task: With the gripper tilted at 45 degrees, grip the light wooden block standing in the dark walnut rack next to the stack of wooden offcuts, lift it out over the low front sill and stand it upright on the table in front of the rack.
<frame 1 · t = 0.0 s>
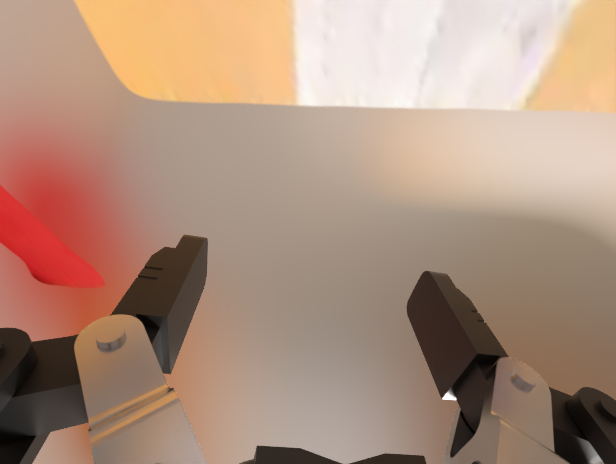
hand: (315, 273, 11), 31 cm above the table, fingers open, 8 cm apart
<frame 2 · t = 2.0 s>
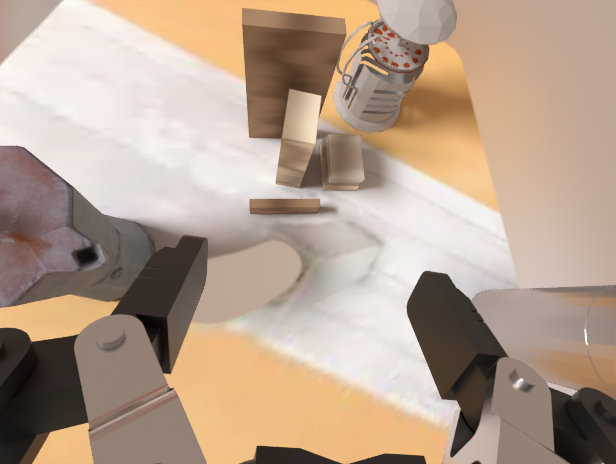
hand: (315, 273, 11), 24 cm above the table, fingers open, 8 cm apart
offcut stack: (337, 168, 39), on the table
french press: (361, 103, 42), on the table
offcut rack: (282, 167, 37), on the table
moka pot: (109, 260, 32), on the table
light wooden block: (290, 167, 38), on the table
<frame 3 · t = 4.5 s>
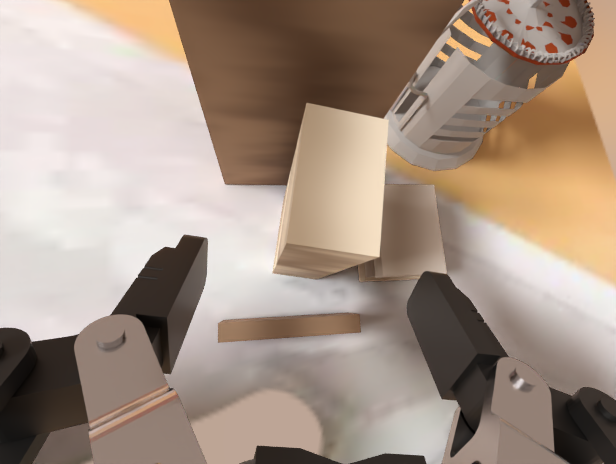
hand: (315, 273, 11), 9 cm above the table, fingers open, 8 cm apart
offcut stack: (385, 238, 22), on the table
french press: (419, 119, 25), on the table
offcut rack: (285, 240, 20), on the table
light wooden block: (299, 240, 21), on the table
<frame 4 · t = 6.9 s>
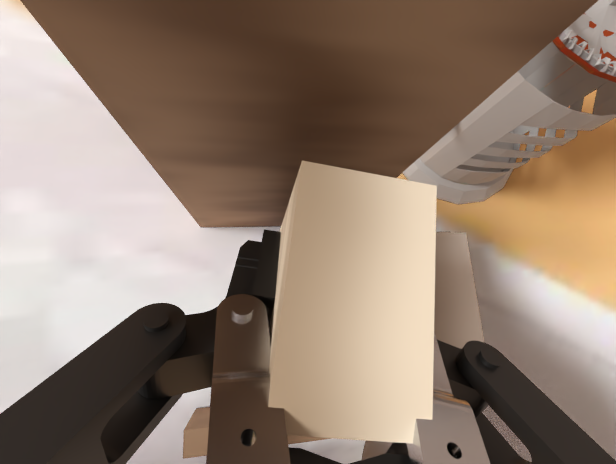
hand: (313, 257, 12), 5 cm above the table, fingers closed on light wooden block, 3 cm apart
offcut stack: (400, 291, 17), on the table
french press: (439, 140, 20), on the table
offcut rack: (276, 298, 16), on the table
light wooden block: (294, 297, 16), on the table, touching gripper
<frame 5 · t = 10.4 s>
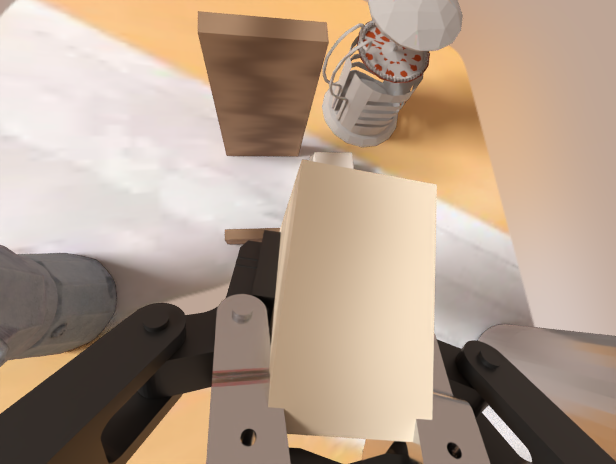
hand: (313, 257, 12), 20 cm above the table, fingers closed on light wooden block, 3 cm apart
offcut stack: (327, 188, 34), on the table
french press: (353, 113, 37), on the table
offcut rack: (264, 189, 33), on the table
moka pot: (62, 303, 28), on the table
light wooden block: (294, 296, 16), point 15 cm above the table, touching gripper
when the fingers open (6 cm above the table, at t = 13.9 s): light wooden block drops 1 cm, on the table.
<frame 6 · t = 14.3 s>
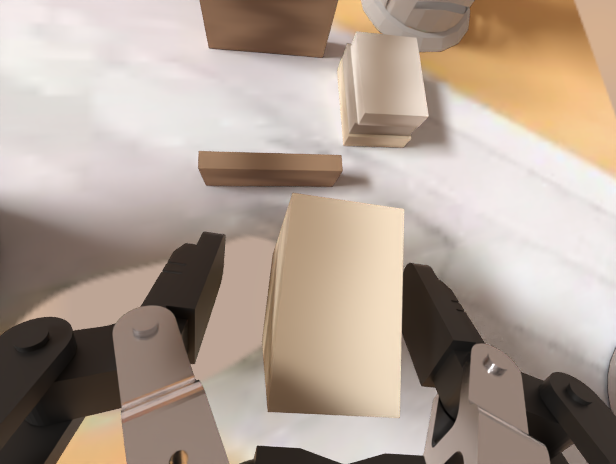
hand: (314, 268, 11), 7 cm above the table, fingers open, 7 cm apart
offcut stack: (369, 108, 22), on the table
french press: (405, 5, 25), on the table
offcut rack: (269, 102, 20), on the table
light wooden block: (292, 299, 18), on the table
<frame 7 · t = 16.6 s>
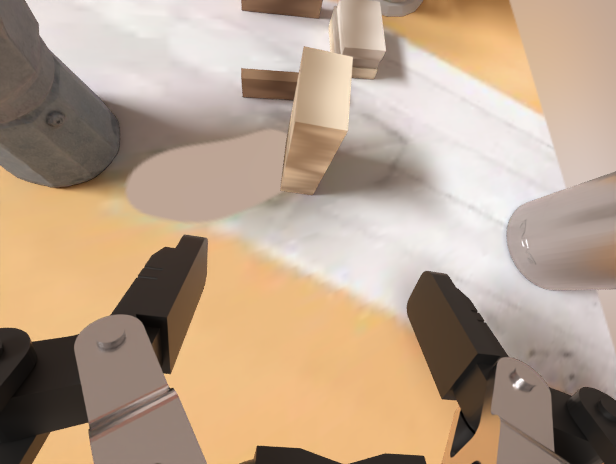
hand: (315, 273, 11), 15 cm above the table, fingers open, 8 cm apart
offcut stack: (350, 53, 32), on the table
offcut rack: (282, 46, 30), on the table
moka pot: (59, 140, 25), on the table
light wooden block: (299, 167, 28), on the table
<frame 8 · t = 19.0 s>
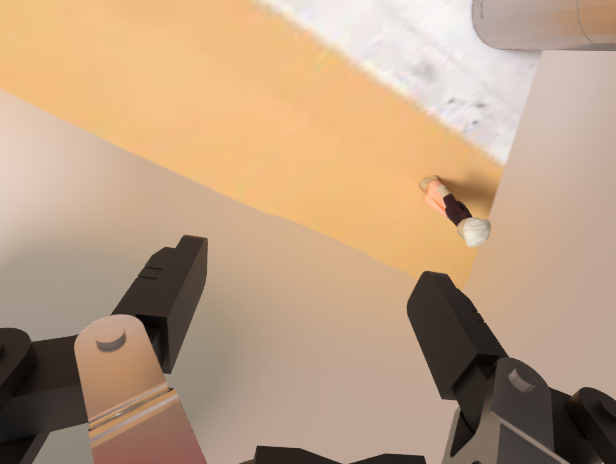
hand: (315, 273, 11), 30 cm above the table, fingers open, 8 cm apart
grandmother figurine: (434, 190, 43), on the table
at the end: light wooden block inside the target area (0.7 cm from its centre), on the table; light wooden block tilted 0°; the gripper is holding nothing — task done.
